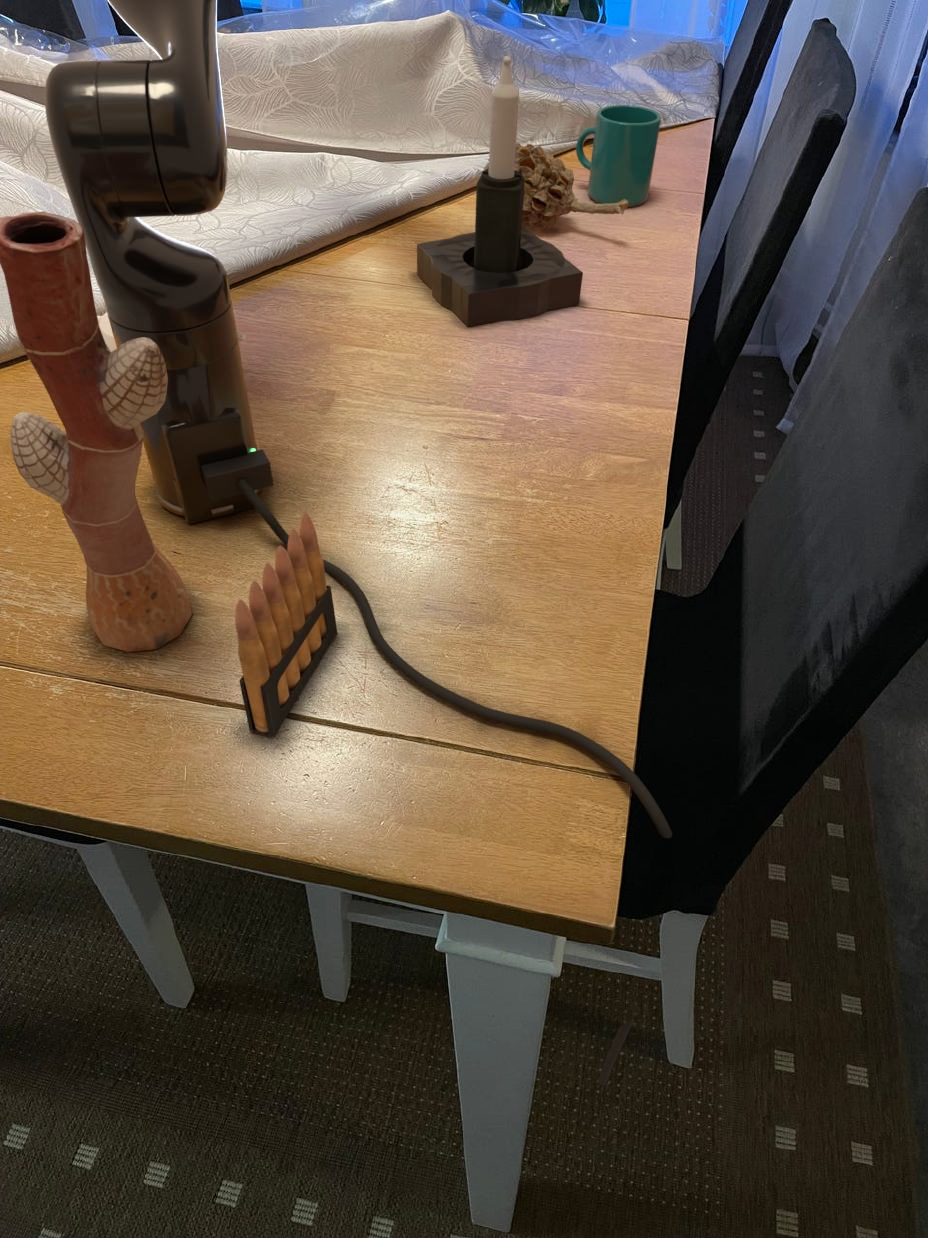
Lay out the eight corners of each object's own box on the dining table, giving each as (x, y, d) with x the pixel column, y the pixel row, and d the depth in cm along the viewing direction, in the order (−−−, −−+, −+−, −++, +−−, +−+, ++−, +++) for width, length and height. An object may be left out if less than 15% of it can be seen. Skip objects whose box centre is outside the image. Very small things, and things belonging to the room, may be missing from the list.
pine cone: (467, 225, 123) (469, 148, 116) (495, 202, 129) (498, 128, 122) (617, 256, 116) (629, 177, 109) (639, 231, 122) (651, 154, 115)
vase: (67, 633, 66) (-108, 227, 45) (127, 573, 71) (-4, 180, 50) (185, 675, 63) (60, 264, 42) (240, 609, 68) (152, 212, 47)
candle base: (585, 305, 106) (589, 273, 103) (465, 330, 101) (466, 296, 98) (523, 253, 116) (525, 223, 113) (411, 274, 111) (410, 242, 108)
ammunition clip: (273, 739, 60) (246, 614, 51) (248, 732, 60) (218, 607, 51) (338, 632, 67) (324, 507, 58) (315, 626, 67) (298, 501, 59)
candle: (512, 300, 107) (527, 63, 89) (471, 296, 107) (478, 59, 89) (518, 282, 110) (535, 51, 92) (479, 278, 111) (487, 47, 93)
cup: (585, 178, 137) (594, 97, 129) (656, 194, 133) (670, 111, 125) (559, 195, 131) (567, 112, 123) (633, 213, 127) (646, 128, 119)
